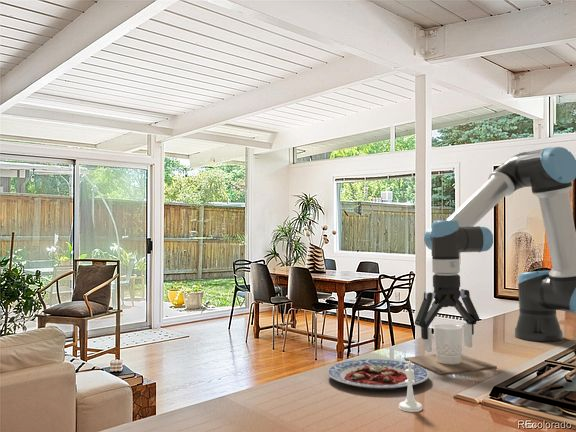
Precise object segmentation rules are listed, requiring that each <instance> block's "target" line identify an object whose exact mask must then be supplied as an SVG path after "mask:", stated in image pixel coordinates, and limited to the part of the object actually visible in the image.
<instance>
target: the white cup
mask: <svg viewBox="0 0 576 432" xmlns="http://www.w3.org/2000/svg"><path fill="white" fill-rule="evenodd" d="M433 338H434V350H435V354H436V359H437V362H439V363H442V364H452V365H453V364H454V365H455V364H460V363H461V354H462V353H463V326H462V325H458V324H450V323H439V324H434V325H433Z"/></svg>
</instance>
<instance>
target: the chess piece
mask: <svg viewBox="0 0 576 432" xmlns="http://www.w3.org/2000/svg"><path fill="white" fill-rule="evenodd" d="M407 363H408V364H405V366H406V367H408V369H406V370H405V373H406V376H407V380H405V383H408V386H406V387H407V390H406V398H405V399H404V401H401V402H400V403H399V404H398V409H399V410H401V411H403V412H408V413H409V412H410V413H417V412H420V411H422V410H423V405H422V404H421V403H420V402H418V401H417V400H416V399H415V397H414V395H415V394H414V389H413V385H412V384H413V383H415V381H414V380H412V378H413V374H414V370H413V369H411V366H414V363H411V361H407Z"/></svg>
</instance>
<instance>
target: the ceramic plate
mask: <svg viewBox="0 0 576 432" xmlns="http://www.w3.org/2000/svg"><path fill="white" fill-rule="evenodd" d="M405 364H408V361H401V360H393V359H392V360H391V359H380V358H378V359H377V358H376V359H374V358H373V359H368V358H367V359H354V360H347V361H342V362H339V363H336V364H334V365H332V366H330V367H329V368H328V369H327V375H328V377H330V378H331V379H333V380H334V381H336V382H338V383H342V384H345V385H350V386H354V387H358V388H361V389H362V388H363V389H368V390H369V389H370V390H394V389H399V388H404V387H408V383H405V380H407V376H406V373H405V370H406V369H408V367H406V366H405ZM413 364H414V363H413ZM411 369H413V370H414V374H413V378H412V380H414V381H415V383H413V384H412V386H415V385H419V384H422V383H423V382H426V381H427V380H428V379H429V377H430V373H429V370H428V369H426V368H423V367H421V366H419V365H416V364H414V366H411Z"/></svg>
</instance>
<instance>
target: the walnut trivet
mask: <svg viewBox="0 0 576 432" xmlns="http://www.w3.org/2000/svg"><path fill="white" fill-rule="evenodd" d="M404 359H405V360H404V361H406V362H408V361H411V362H412V363H411V364H415V365H417V366H420V367H422V368H424V369H426V370H427V371H430V372H432V373H435V374H437V375H440V376H445V375H452V374H460V373H468V372H477V371H484V370H485V371H486V370H491V369H497V368H498V367H497V365H495V364H493V363H492V364H491V363H488V362H485V361H484V360H480V359H476V358H473V357H471V356H468V355H465V354H462V353H461V363H460V364H455V365H454V364H453V365H452V364H442V363H439V362H437V359H436V353H435V354H434V353H433V354H425V355H418V356H409V357H408V356H407V357H404Z"/></svg>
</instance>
